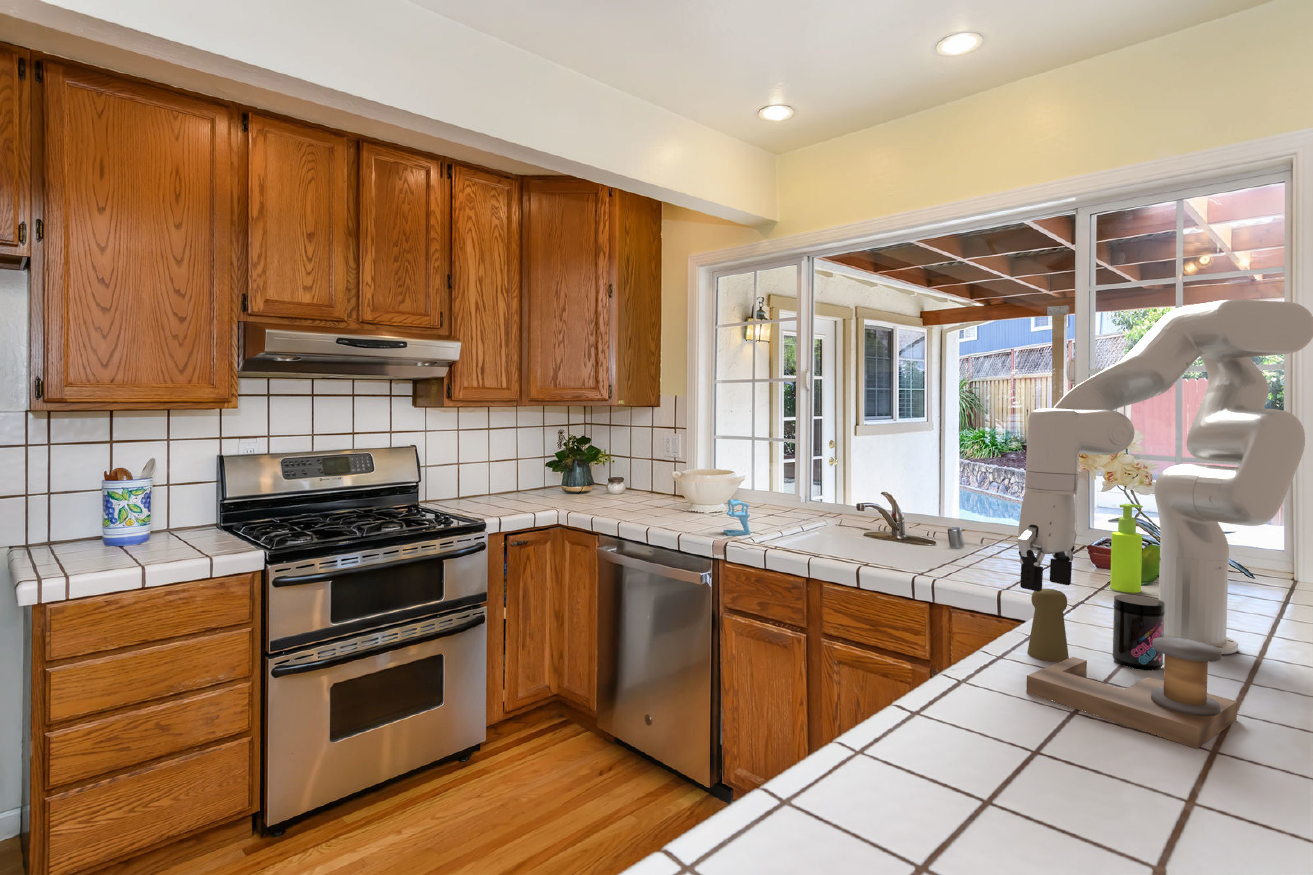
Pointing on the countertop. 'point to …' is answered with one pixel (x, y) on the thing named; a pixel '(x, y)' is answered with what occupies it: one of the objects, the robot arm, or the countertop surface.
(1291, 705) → the countertop surface
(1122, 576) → the soap dispenser
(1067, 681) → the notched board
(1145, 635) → the supplement container
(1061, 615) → the olive pepper mill
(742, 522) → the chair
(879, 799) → the countertop surface
